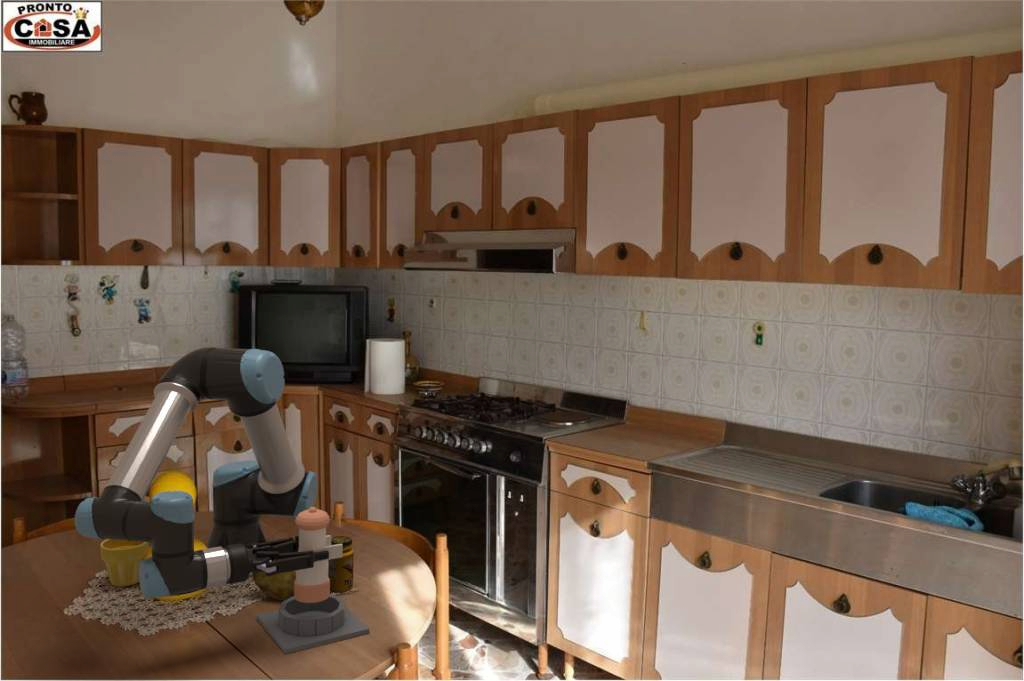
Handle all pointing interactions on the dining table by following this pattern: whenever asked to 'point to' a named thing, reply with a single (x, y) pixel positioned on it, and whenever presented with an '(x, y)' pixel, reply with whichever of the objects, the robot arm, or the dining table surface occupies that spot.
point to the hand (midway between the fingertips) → (335, 545)
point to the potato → (276, 584)
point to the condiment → (341, 567)
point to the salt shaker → (314, 580)
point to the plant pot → (123, 560)
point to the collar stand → (311, 623)
